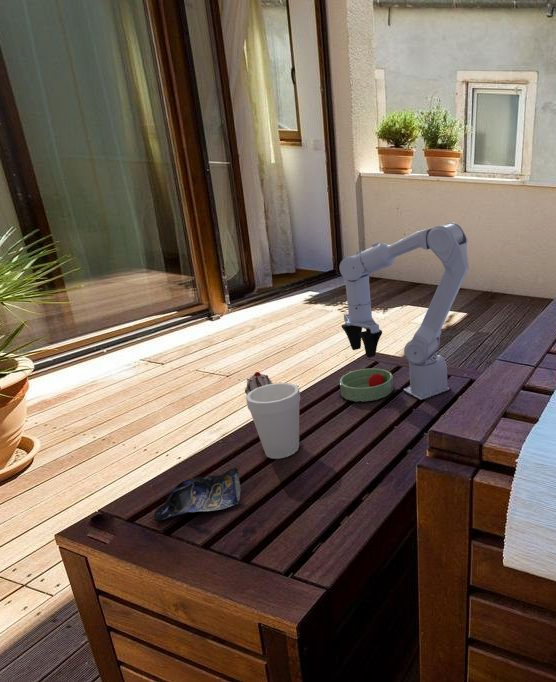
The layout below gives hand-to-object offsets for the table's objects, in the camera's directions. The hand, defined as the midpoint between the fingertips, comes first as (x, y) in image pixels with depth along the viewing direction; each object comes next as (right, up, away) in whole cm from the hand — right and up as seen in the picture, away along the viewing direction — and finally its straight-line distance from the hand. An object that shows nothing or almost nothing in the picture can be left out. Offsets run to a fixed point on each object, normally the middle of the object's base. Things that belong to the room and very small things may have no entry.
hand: (363, 352), depth 124 cm
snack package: (-15, -25, -44) cm, 53 cm away
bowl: (+1, -10, -1) cm, 10 cm away
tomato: (+2, -8, -2) cm, 9 cm away
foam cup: (-9, -20, -28) cm, 35 cm away
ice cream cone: (-14, -18, -22) cm, 32 cm away
